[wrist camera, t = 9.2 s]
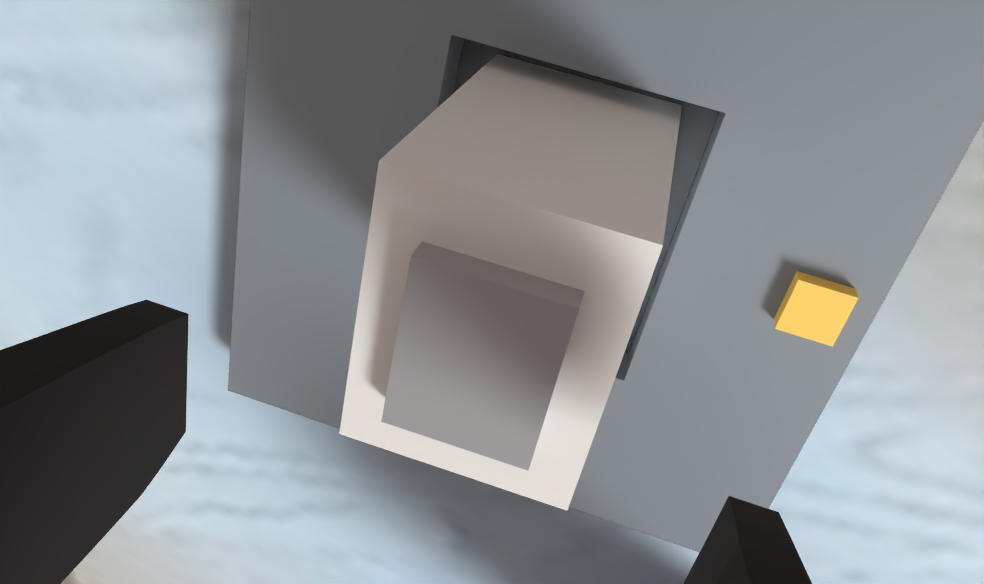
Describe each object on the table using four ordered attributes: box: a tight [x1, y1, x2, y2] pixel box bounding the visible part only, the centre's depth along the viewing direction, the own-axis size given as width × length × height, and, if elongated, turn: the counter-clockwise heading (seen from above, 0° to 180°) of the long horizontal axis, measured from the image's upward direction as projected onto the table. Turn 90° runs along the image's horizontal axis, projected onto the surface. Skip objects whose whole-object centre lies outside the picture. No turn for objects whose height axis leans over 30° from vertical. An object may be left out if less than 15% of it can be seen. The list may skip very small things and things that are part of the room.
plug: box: [339, 54, 682, 511], centre depth 15 cm, size 4×5×8 cm
